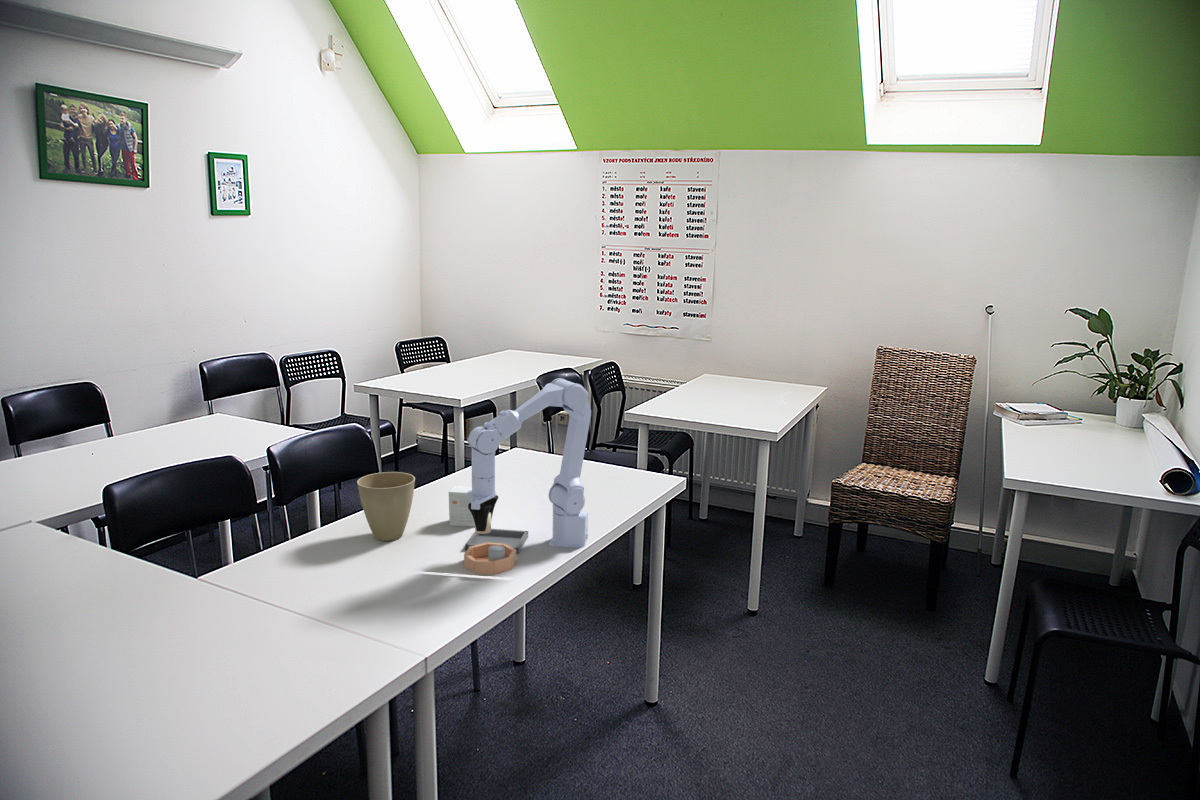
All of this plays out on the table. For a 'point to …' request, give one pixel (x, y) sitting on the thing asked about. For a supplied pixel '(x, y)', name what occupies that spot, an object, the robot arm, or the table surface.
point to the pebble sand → (488, 527)
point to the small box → (460, 507)
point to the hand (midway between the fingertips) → (483, 527)
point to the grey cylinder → (496, 553)
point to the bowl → (479, 559)
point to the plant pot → (387, 502)
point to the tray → (499, 538)
